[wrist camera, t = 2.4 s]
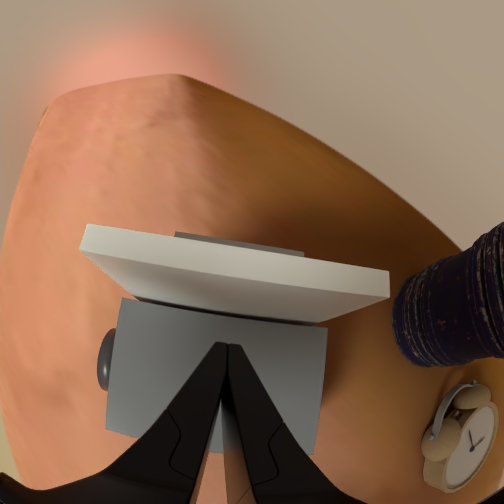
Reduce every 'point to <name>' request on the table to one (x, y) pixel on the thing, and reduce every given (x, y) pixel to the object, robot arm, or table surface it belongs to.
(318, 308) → the door
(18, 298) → the table surface
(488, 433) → the alarm clock
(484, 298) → the storage jar
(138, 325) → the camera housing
